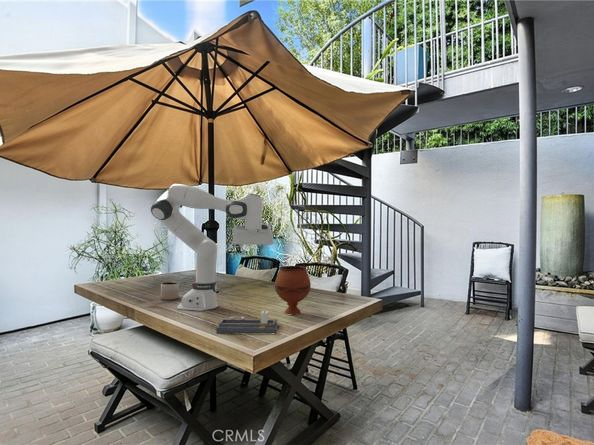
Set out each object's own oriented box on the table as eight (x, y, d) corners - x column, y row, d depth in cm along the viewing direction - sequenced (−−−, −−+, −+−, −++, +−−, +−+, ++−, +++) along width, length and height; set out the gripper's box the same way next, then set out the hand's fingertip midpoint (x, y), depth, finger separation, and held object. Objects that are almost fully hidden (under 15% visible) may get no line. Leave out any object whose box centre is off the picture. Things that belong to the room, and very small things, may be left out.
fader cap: (260, 324, 152) (260, 313, 152) (261, 321, 156) (261, 310, 156) (267, 324, 152) (267, 313, 152) (268, 321, 156) (268, 310, 156)
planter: (156, 299, 209) (156, 284, 209) (168, 295, 220) (168, 281, 220) (171, 300, 206) (171, 285, 206) (182, 297, 216) (182, 282, 216)
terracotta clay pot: (267, 313, 181) (267, 266, 181) (292, 307, 195) (293, 263, 194) (291, 320, 167) (292, 270, 167) (317, 313, 181) (318, 267, 181)
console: (216, 333, 147) (216, 324, 147) (222, 324, 160) (222, 315, 160) (275, 334, 147) (275, 324, 147) (277, 324, 160) (277, 316, 160)
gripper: (231, 225, 166) (231, 253, 166) (273, 226, 166) (272, 254, 166) (233, 225, 172) (233, 252, 172) (273, 226, 172) (273, 253, 172)
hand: (253, 253), depth 169 cm, fingers open, 8 cm apart
